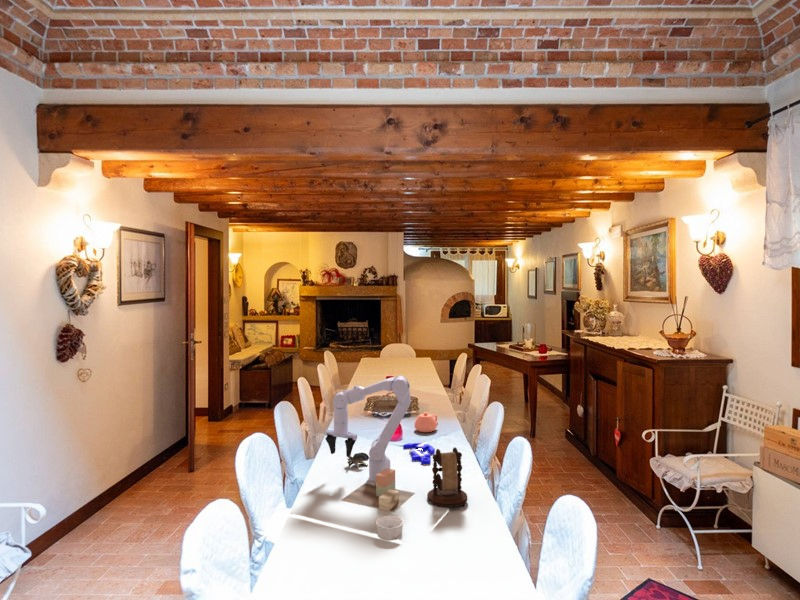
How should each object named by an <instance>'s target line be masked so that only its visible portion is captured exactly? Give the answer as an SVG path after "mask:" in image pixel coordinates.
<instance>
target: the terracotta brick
mask: <svg viewBox="0 0 800 600" xmlns="http://www.w3.org/2000/svg"><path fill="white" fill-rule="evenodd" d="M393 481H395V482H396V469H392V468H390V469H388V468H385V469H384V470H383V471H381V472H380V473H378V474H377V475H376V481H375V485H376V486H381V487H387V486H388V485H389V484H391V483H392V482H393Z"/></svg>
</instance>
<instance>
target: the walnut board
mask: <svg viewBox="0 0 800 600" xmlns="http://www.w3.org/2000/svg"><path fill="white" fill-rule="evenodd" d="M395 491H399V502H398V503H397V504H396V505H395V506H394V507H393V508H392V509H390V510H389V511H388V512H391V513H394V512H396V511H397V510H398V509H399V508H400V507H401V506H403V504H405V503H406V502H407V501H408V500H409V499H410V498H412V497H413V496H414V495H415V494H416V492H412V491H408V490H404V489H403V490H402V489H397V488H395ZM340 501H342V502H347V503H352V504H355V505H359V506H363V507H369V508H373V509H378V510H380V509H379V497H378V496H376V484H371V483H367V482H365V483H364V484H362V485H361V486H359V487H357V488H356V489H355V490H352V492H350V493H349V494H348V495H346V496H344V497H343V498H341V500H340ZM381 510H383V509H381ZM383 511H384V510H383Z"/></svg>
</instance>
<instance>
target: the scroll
mask: <svg viewBox="0 0 800 600" xmlns="http://www.w3.org/2000/svg"><path fill="white" fill-rule="evenodd" d="M462 456H463V453H462V452H460V451H458V448H457V447H454V446H453V448H452V451H449V452H441V450H440V448H437V449H436V450H435V453H434V454H433V455H432V461H433V463H432V466H433V467H432V469H431V470H432V473H433V477H432V478H433V480H432V486H433V488H432V489H431V490H429V491H428V492H427V495H426V496H427V497H426V498H427V500H428V502H429V503H431V504H433V505H435V506H438V508H440V507H445V508H447V507H448V508H450V507H451V508H452V507H458V506H459V507H460V506H462V505H463V507H465V506H466V503H467V501H468V493H466V492H465V491H464V490H462V481H463V479H462V473H461V472H462V470H463V465H462ZM438 466H439V467H438ZM438 472H440V473H441V475H440V473H438Z"/></svg>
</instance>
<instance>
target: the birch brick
mask: <svg viewBox="0 0 800 600" xmlns="http://www.w3.org/2000/svg"><path fill="white" fill-rule="evenodd" d="M398 502H399V491H395V490H390V489H389V490H388V491H386V492H385V493H384V494H383V495H381V496H380V497H379V509H378V510H382V509H383V511H387V512H390V511H389V510H390V509H392V508H393V507H394V506H395V505H396V504H397V503H398Z"/></svg>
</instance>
